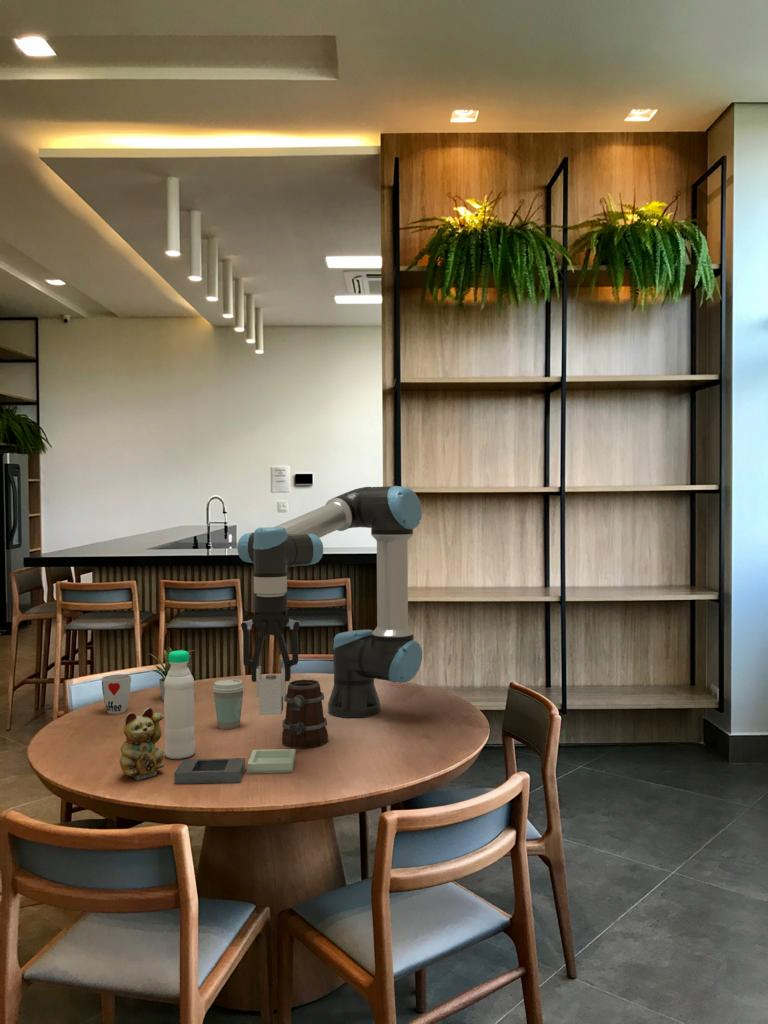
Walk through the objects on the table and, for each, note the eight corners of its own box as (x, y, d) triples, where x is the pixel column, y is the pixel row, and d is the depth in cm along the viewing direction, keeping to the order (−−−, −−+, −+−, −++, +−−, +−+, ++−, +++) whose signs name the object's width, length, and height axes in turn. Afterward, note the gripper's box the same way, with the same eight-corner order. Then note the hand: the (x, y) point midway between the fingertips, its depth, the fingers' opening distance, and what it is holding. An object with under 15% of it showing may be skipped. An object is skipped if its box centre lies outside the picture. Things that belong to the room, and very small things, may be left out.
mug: (289, 733, 208) (288, 676, 208) (333, 736, 206) (333, 678, 206) (269, 752, 193) (268, 691, 193) (317, 755, 191) (317, 693, 190)
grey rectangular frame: (245, 768, 182) (245, 758, 182) (239, 782, 173) (239, 771, 173) (183, 769, 181) (183, 759, 181) (174, 783, 172) (174, 772, 172)
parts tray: (295, 758, 189) (295, 749, 189) (292, 772, 179) (292, 763, 179) (253, 759, 188) (253, 749, 188) (247, 773, 178) (247, 764, 178)
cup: (95, 713, 229) (95, 679, 229) (115, 706, 237) (114, 673, 236) (118, 716, 226) (118, 681, 226) (137, 709, 234) (136, 675, 233)
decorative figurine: (130, 784, 172) (129, 715, 172) (110, 776, 177) (109, 709, 177) (169, 772, 179) (168, 706, 179) (149, 764, 185) (148, 700, 184)
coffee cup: (237, 731, 211) (237, 686, 210) (207, 729, 212) (207, 685, 212) (249, 722, 219) (249, 679, 219) (220, 720, 221) (220, 677, 221)
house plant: (208, 697, 247) (207, 645, 247) (174, 707, 235) (173, 652, 235) (176, 691, 255) (175, 640, 254) (141, 701, 243) (141, 647, 243)
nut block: (283, 708, 186) (282, 673, 185) (281, 714, 181) (281, 678, 180) (261, 709, 185) (261, 673, 185) (259, 714, 180) (258, 678, 180)
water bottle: (179, 761, 187) (178, 655, 186) (158, 756, 190) (157, 652, 190) (201, 753, 193) (200, 650, 192) (180, 748, 196) (179, 647, 196)
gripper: (310, 592, 187) (311, 691, 187) (233, 593, 186) (234, 692, 186) (309, 596, 179) (309, 699, 180) (228, 596, 179) (229, 700, 179)
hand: (271, 695), depth 183 cm, fingers closed on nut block, 5 cm apart
